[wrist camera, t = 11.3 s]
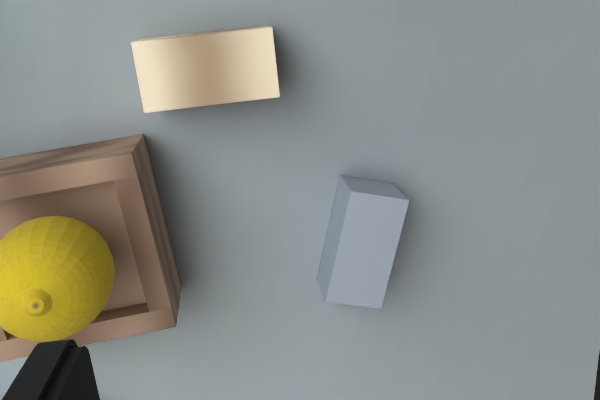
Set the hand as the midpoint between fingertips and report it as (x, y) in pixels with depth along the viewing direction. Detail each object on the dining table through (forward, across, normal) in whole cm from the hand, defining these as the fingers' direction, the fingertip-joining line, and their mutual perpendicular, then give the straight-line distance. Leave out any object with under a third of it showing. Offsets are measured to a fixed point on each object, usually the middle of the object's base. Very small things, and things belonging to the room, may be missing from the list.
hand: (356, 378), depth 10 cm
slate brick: (+25, -4, +8) cm, 26 cm away
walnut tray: (+25, +12, +6) cm, 28 cm away
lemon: (+20, +12, +5) cm, 24 cm away
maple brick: (+25, +4, -3) cm, 25 cm away
